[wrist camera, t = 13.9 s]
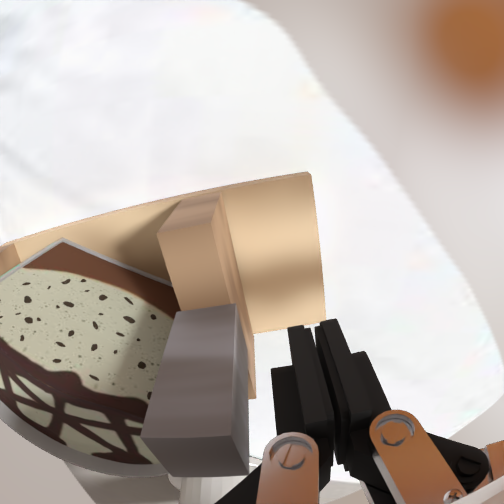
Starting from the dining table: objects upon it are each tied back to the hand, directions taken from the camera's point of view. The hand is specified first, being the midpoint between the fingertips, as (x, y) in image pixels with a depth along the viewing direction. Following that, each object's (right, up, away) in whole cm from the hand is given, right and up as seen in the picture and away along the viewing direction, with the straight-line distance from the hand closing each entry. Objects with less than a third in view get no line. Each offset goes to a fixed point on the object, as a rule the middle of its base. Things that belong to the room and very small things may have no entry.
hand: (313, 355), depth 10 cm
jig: (-9, +2, +8) cm, 12 cm away
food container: (-10, 0, +8) cm, 13 cm away
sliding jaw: (-4, +2, +7) cm, 8 cm away
